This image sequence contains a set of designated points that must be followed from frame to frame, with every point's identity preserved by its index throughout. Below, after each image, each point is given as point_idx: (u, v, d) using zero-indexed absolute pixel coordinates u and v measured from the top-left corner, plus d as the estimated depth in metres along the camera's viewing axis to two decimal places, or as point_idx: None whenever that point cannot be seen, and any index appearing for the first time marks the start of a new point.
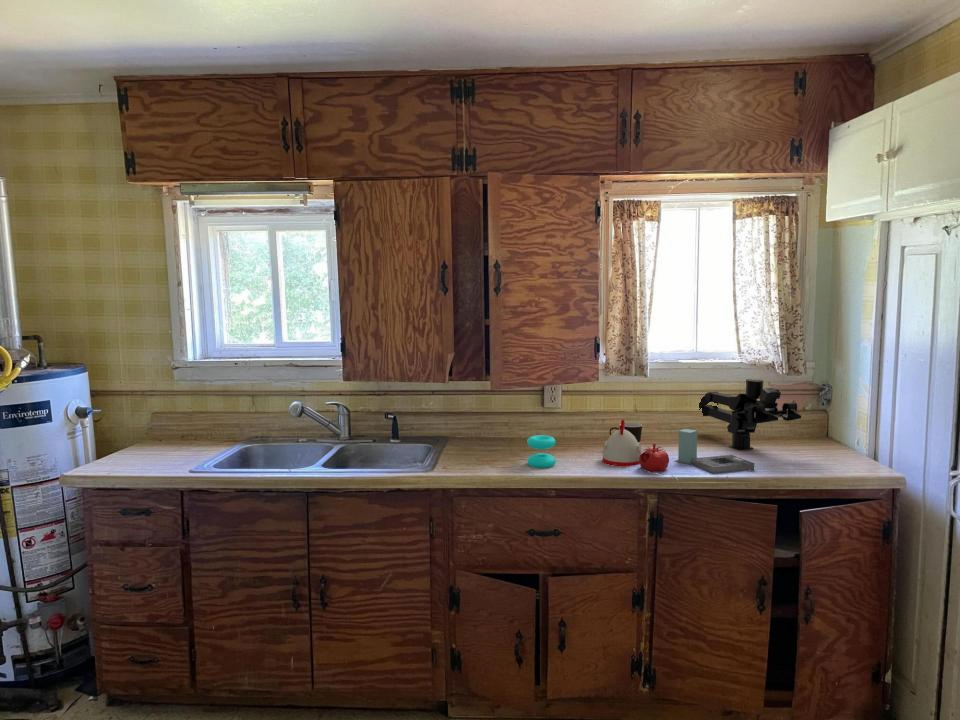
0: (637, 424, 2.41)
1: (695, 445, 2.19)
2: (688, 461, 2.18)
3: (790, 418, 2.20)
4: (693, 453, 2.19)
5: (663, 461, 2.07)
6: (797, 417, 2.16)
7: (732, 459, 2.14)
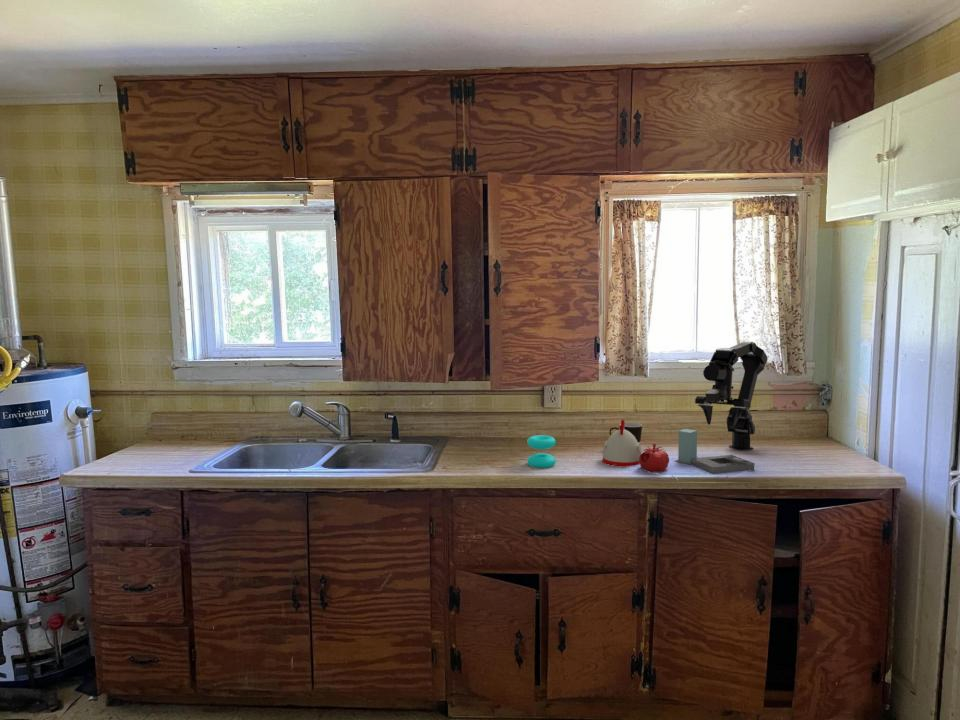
0: (637, 424, 2.41)
1: (695, 445, 2.19)
2: (688, 461, 2.18)
3: None
4: (693, 453, 2.19)
5: (663, 461, 2.07)
6: None
7: (732, 459, 2.14)
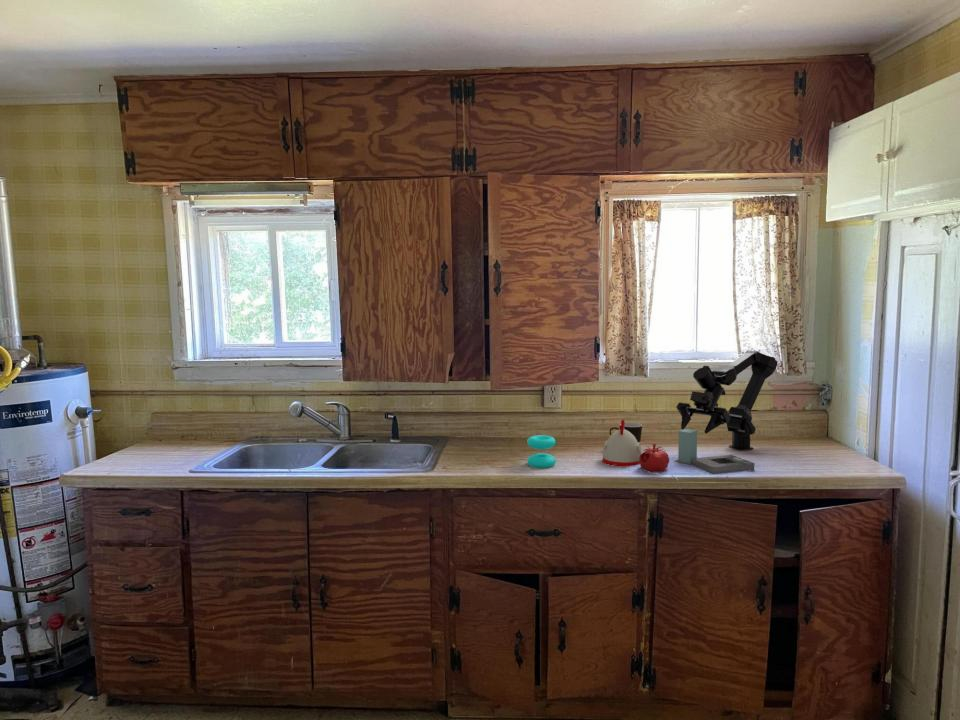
0: (637, 424, 2.41)
1: (695, 445, 2.19)
2: (688, 461, 2.18)
3: None
4: (693, 453, 2.19)
5: (663, 461, 2.07)
6: None
7: (732, 459, 2.14)
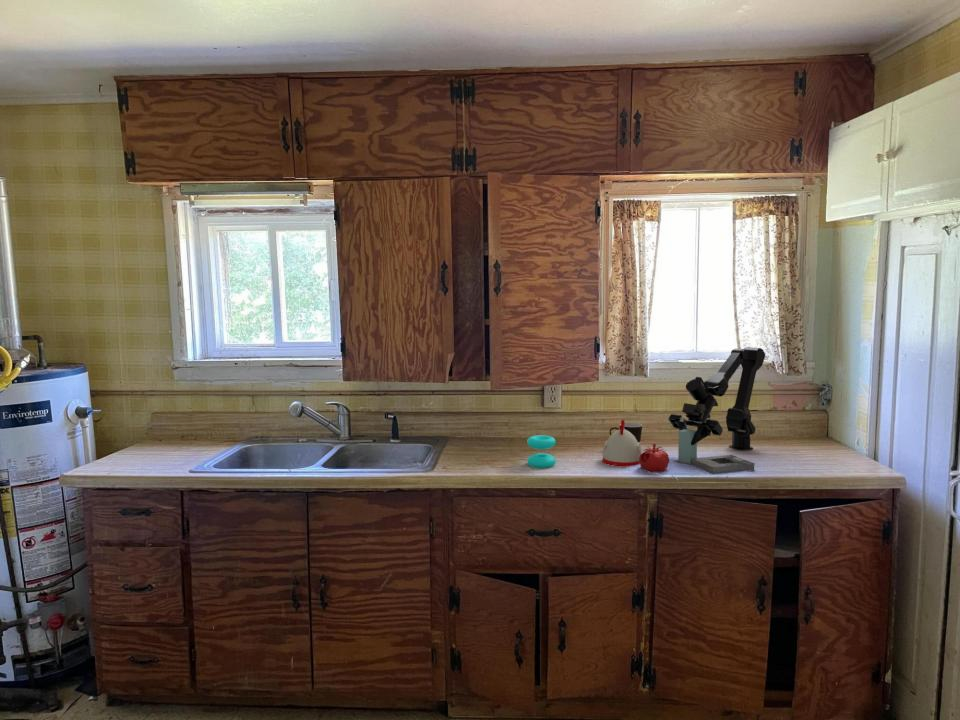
0: (637, 424, 2.41)
1: (695, 445, 2.19)
2: (688, 461, 2.18)
3: None
4: (693, 453, 2.19)
5: (663, 461, 2.07)
6: None
7: (732, 459, 2.14)
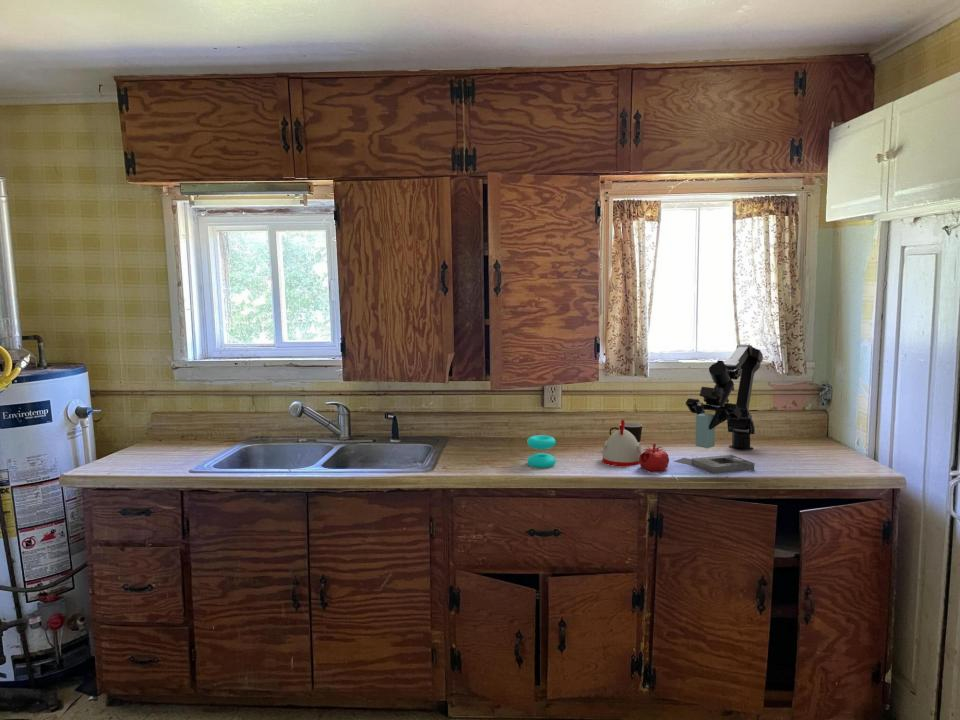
0: (637, 424, 2.41)
1: (713, 429, 2.15)
2: (706, 446, 2.13)
3: None
4: (711, 438, 2.14)
5: (663, 461, 2.07)
6: None
7: (732, 459, 2.14)
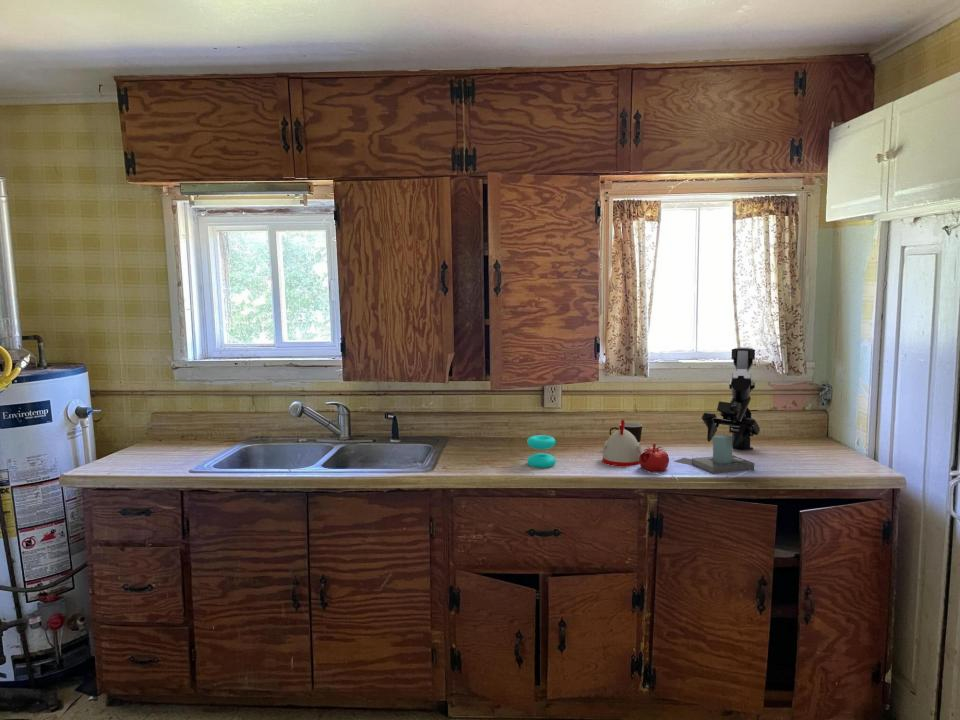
0: (637, 424, 2.41)
1: (730, 451, 2.11)
2: None
3: None
4: (728, 460, 2.11)
5: (663, 461, 2.07)
6: None
7: (732, 459, 2.14)
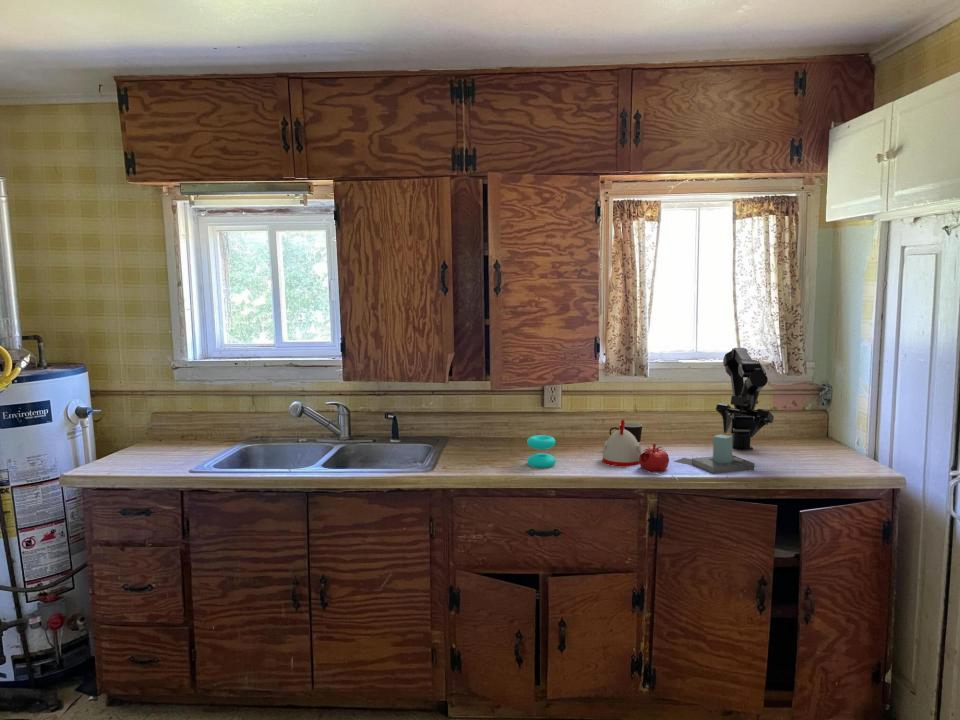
0: (637, 424, 2.41)
1: (730, 451, 2.11)
2: None
3: None
4: (728, 460, 2.11)
5: (663, 461, 2.07)
6: None
7: (732, 459, 2.14)
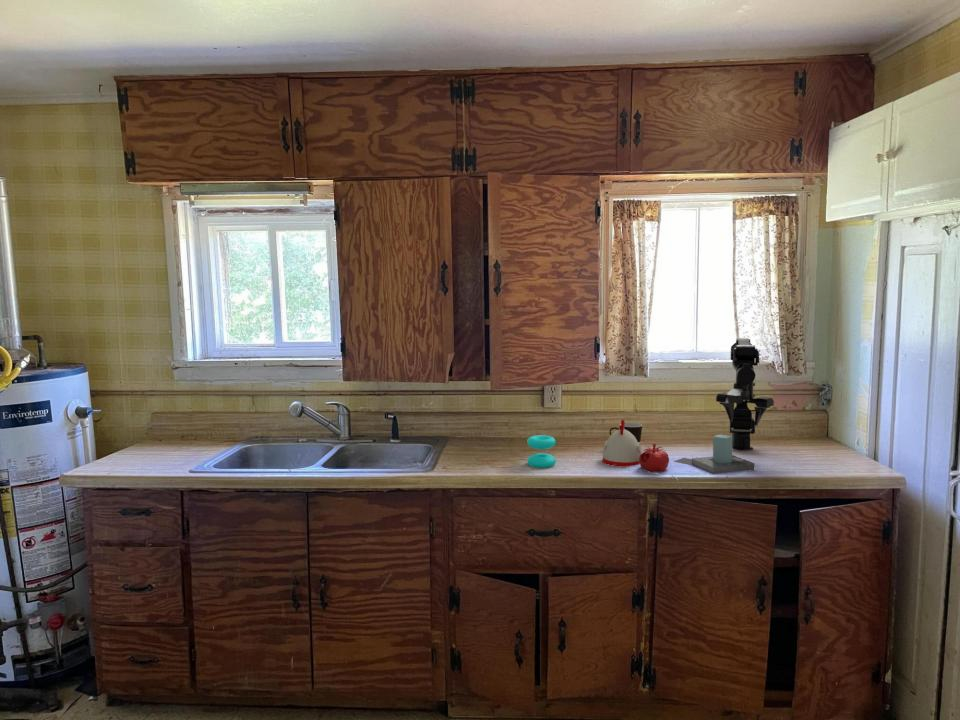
0: (637, 424, 2.41)
1: (730, 451, 2.11)
2: None
3: None
4: (728, 460, 2.11)
5: (663, 461, 2.07)
6: None
7: (732, 459, 2.14)
